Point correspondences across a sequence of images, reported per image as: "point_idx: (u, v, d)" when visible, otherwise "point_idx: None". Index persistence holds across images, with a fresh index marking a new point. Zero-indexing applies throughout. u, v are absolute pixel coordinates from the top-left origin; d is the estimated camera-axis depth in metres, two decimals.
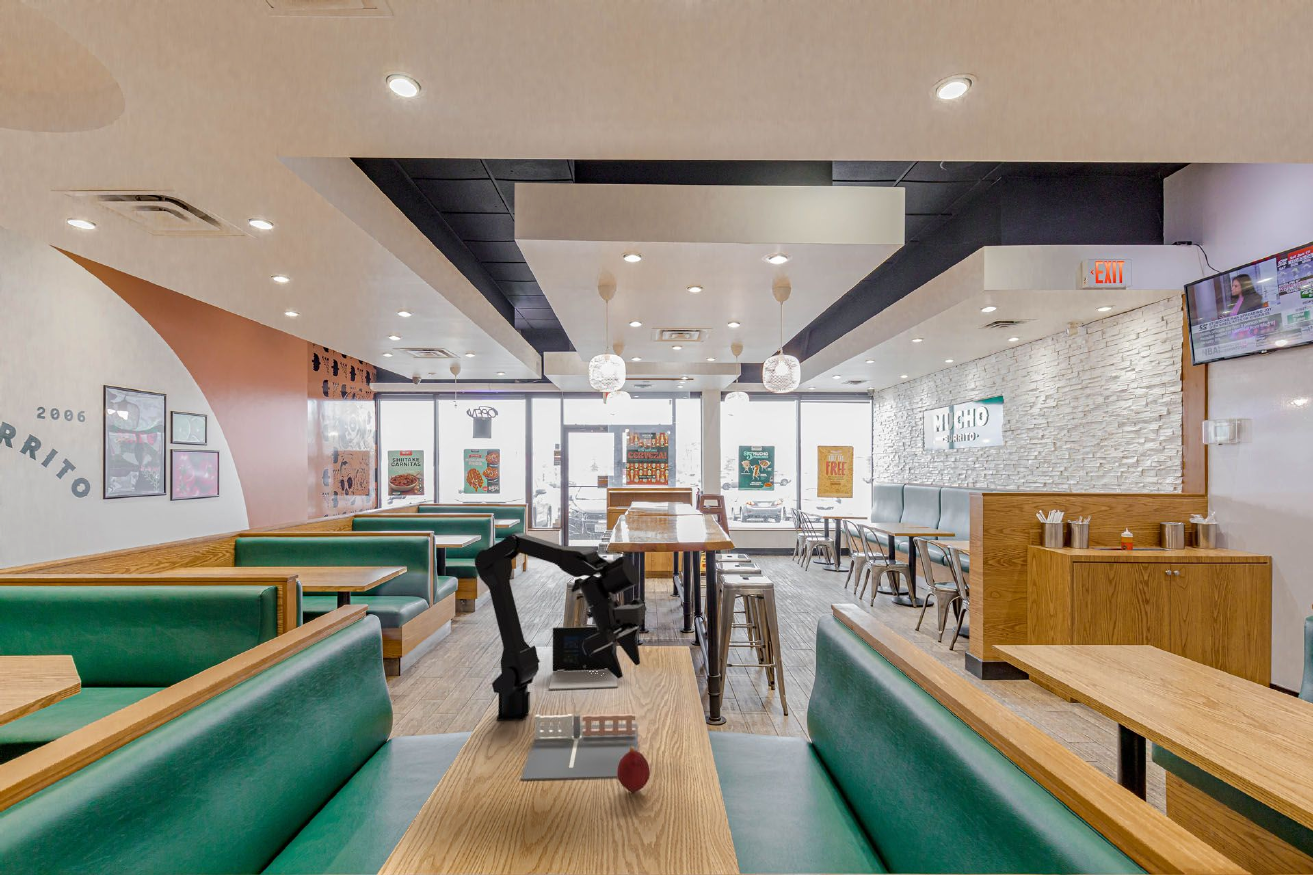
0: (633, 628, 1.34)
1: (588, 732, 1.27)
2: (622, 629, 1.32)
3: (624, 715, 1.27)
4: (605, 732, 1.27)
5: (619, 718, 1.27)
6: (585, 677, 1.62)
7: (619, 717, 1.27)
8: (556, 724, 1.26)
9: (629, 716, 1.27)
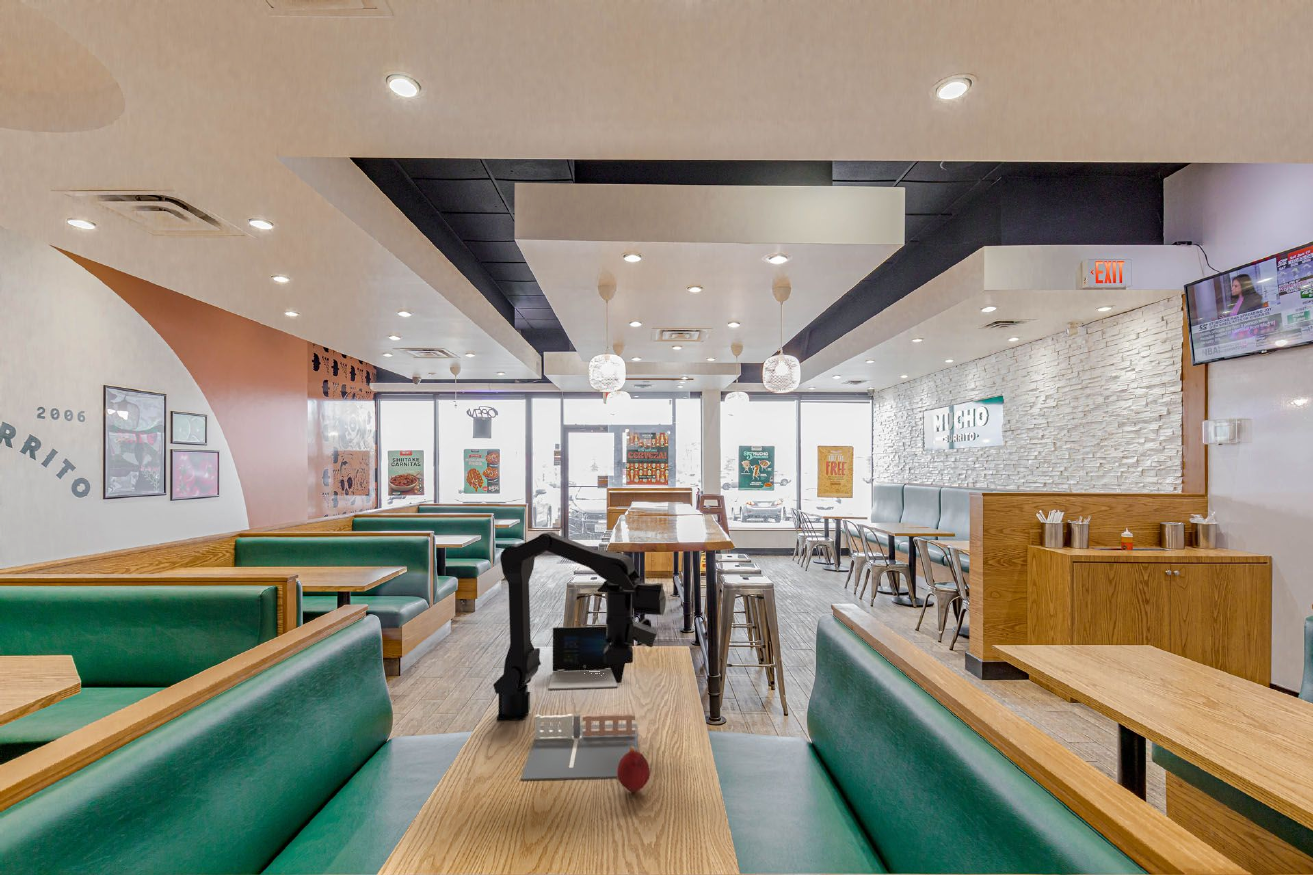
0: None
1: (588, 732, 1.27)
2: None
3: (624, 715, 1.27)
4: (605, 732, 1.27)
5: (619, 718, 1.27)
6: (585, 677, 1.62)
7: (619, 717, 1.27)
8: (556, 724, 1.26)
9: (629, 716, 1.27)
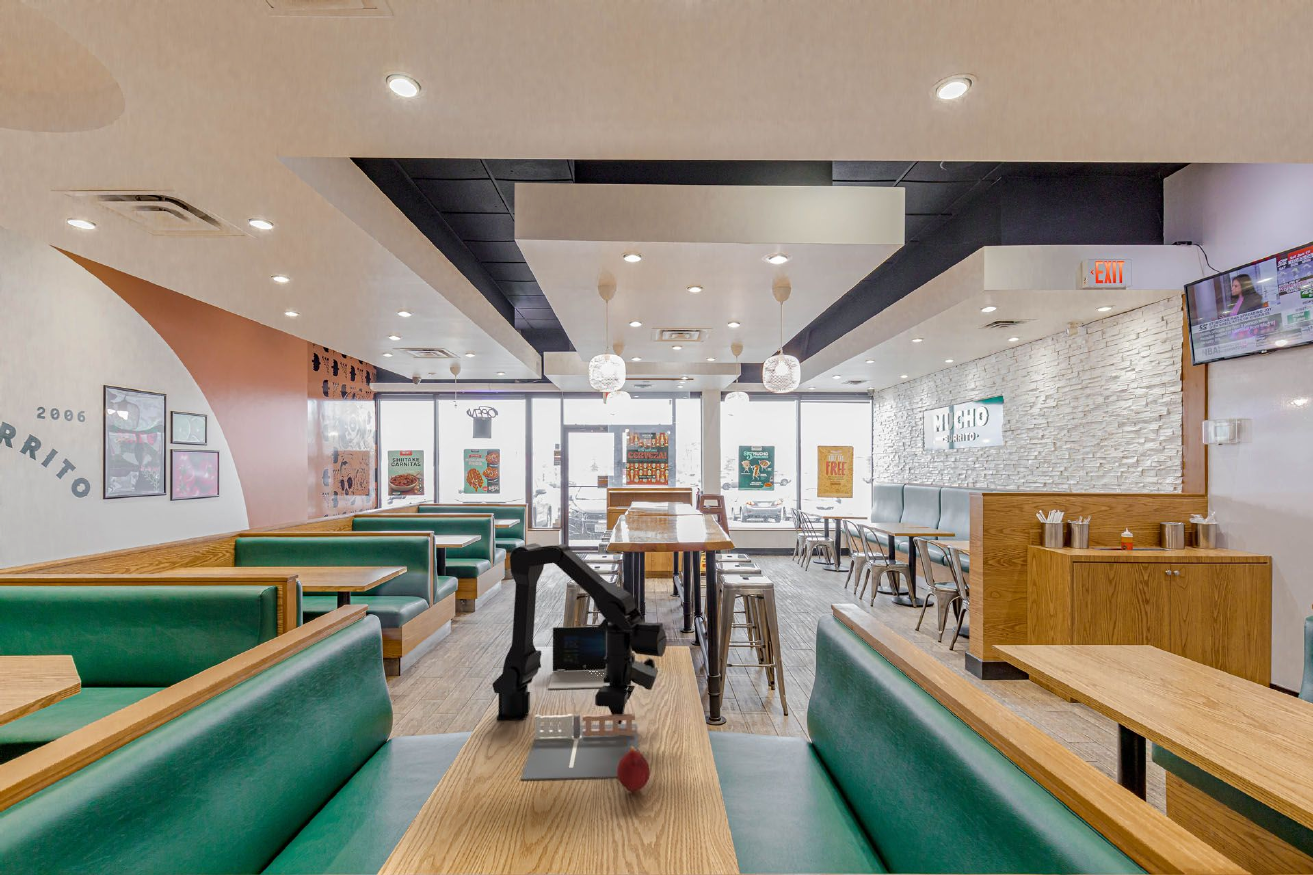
0: None
1: (588, 732, 1.27)
2: None
3: (624, 715, 1.27)
4: (605, 732, 1.27)
5: (619, 718, 1.27)
6: (585, 677, 1.62)
7: (619, 717, 1.27)
8: (556, 724, 1.26)
9: (629, 716, 1.27)
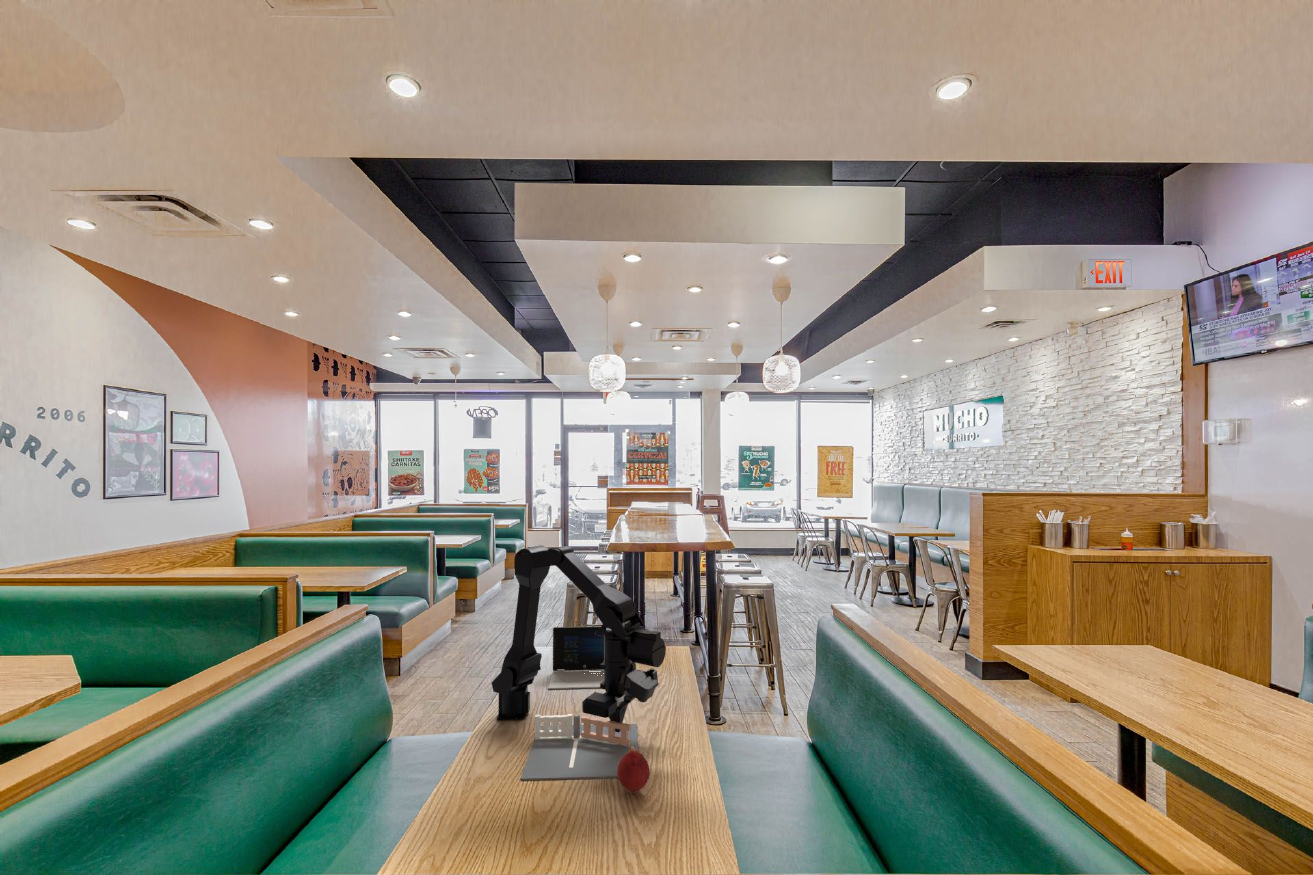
0: None
1: (586, 734, 1.26)
2: None
3: (619, 724, 1.23)
4: (601, 738, 1.24)
5: (614, 726, 1.23)
6: (585, 677, 1.62)
7: (614, 725, 1.23)
8: (556, 724, 1.26)
9: (623, 726, 1.23)
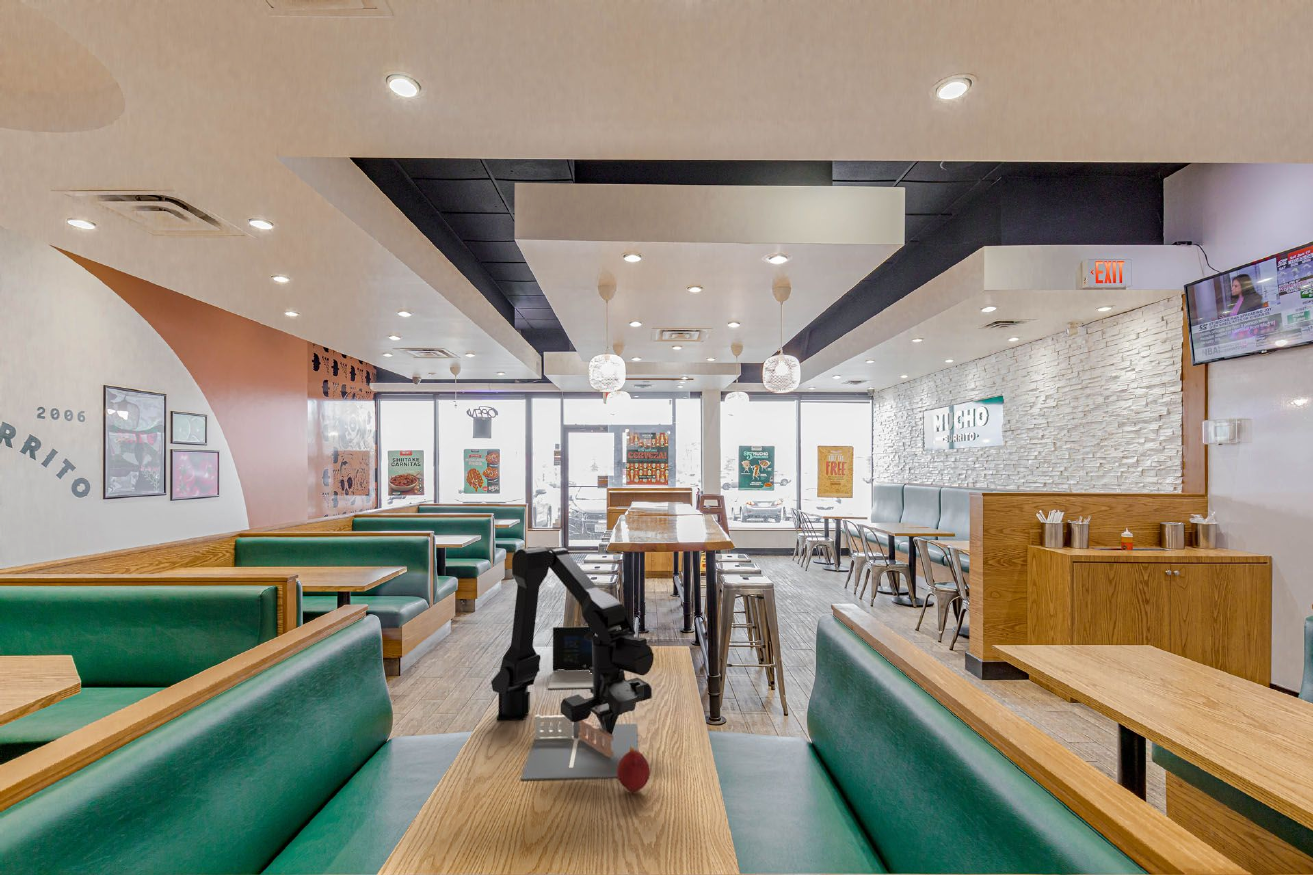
0: None
1: (581, 736, 1.25)
2: None
3: (604, 732, 1.19)
4: (591, 743, 1.22)
5: (600, 734, 1.20)
6: (585, 677, 1.62)
7: (599, 733, 1.20)
8: (556, 724, 1.26)
9: (606, 735, 1.18)
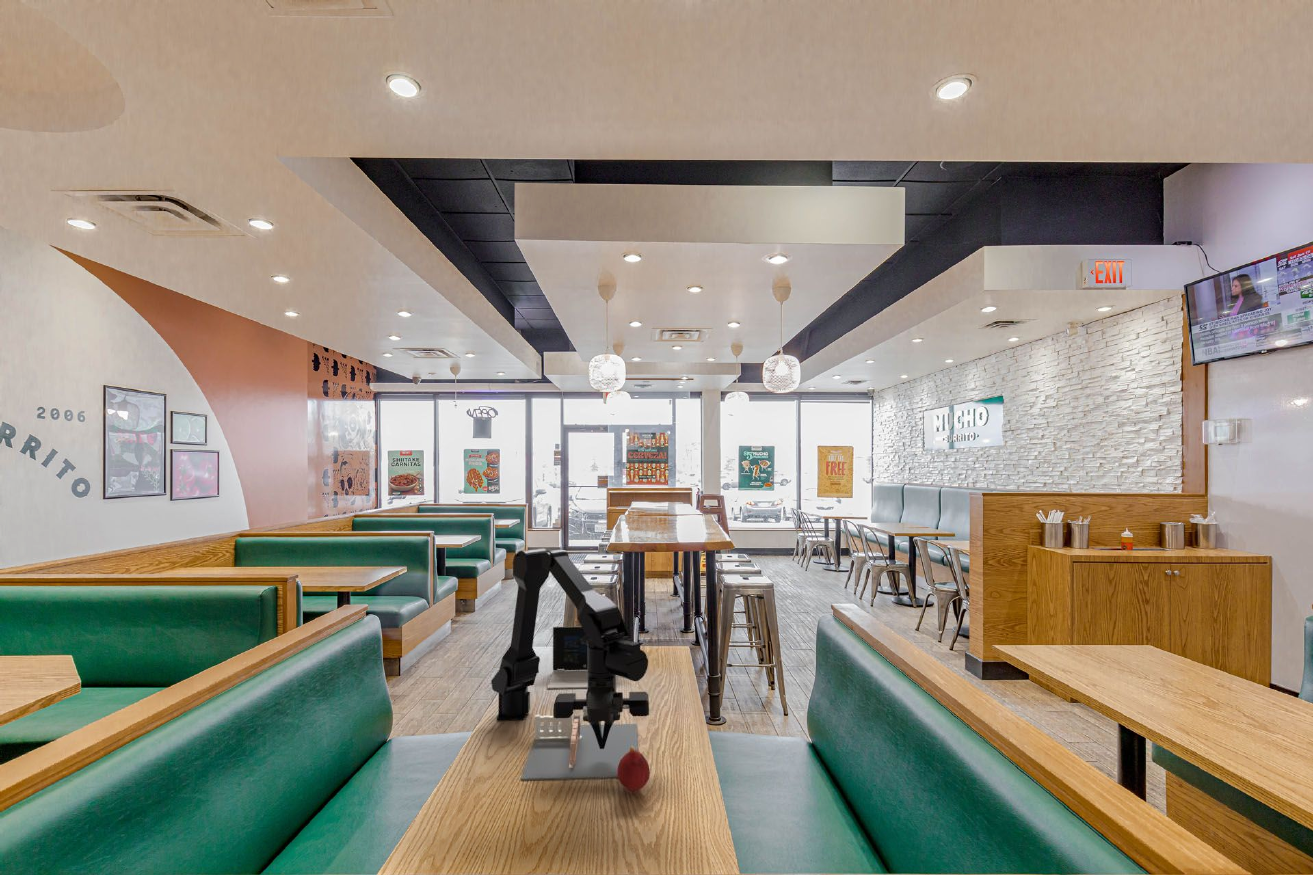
0: None
1: None
2: None
3: (572, 738, 1.17)
4: None
5: None
6: (584, 677, 1.62)
7: (571, 738, 1.18)
8: (556, 724, 1.26)
9: None
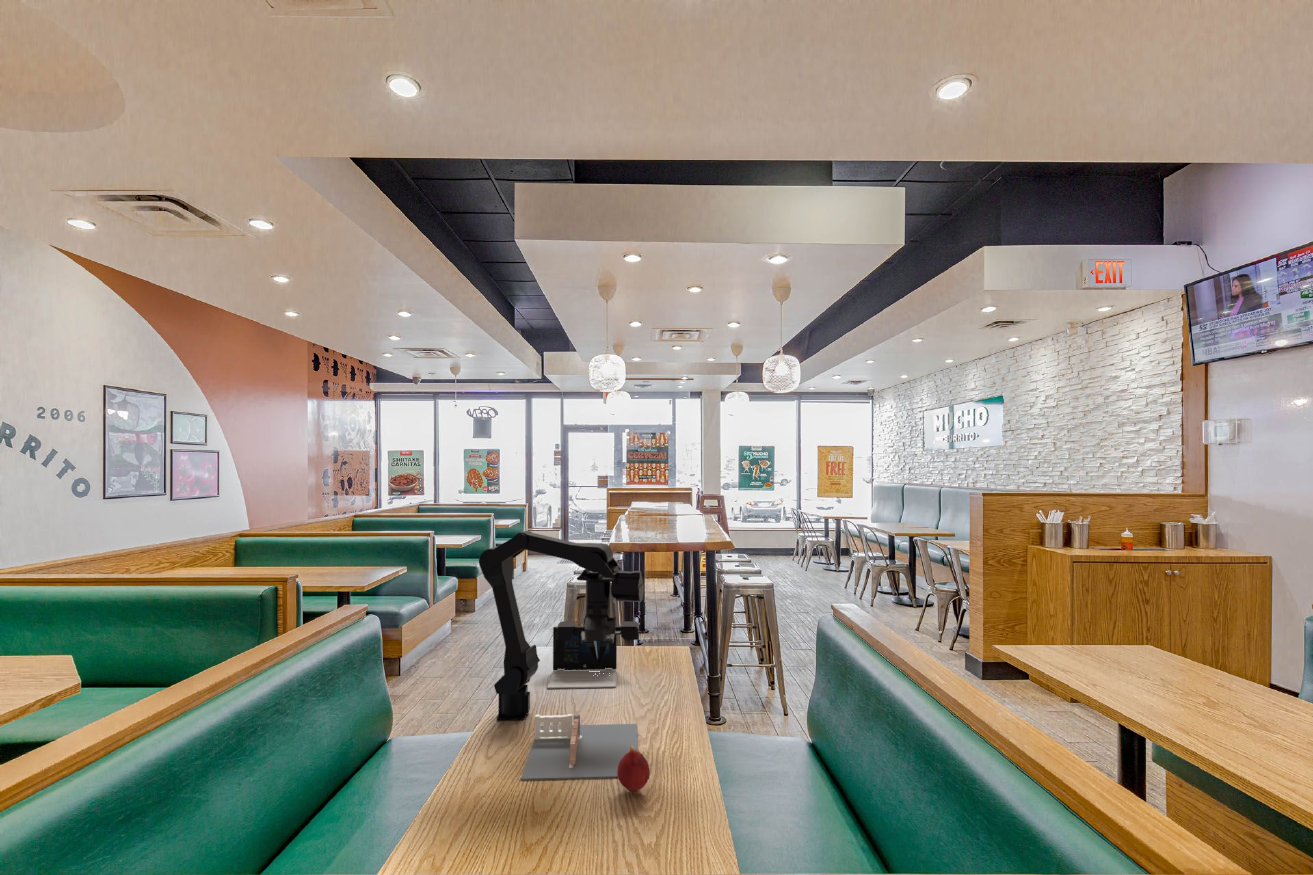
0: None
1: None
2: None
3: (572, 738, 1.17)
4: None
5: None
6: (584, 677, 1.62)
7: (571, 738, 1.18)
8: (556, 724, 1.26)
9: None
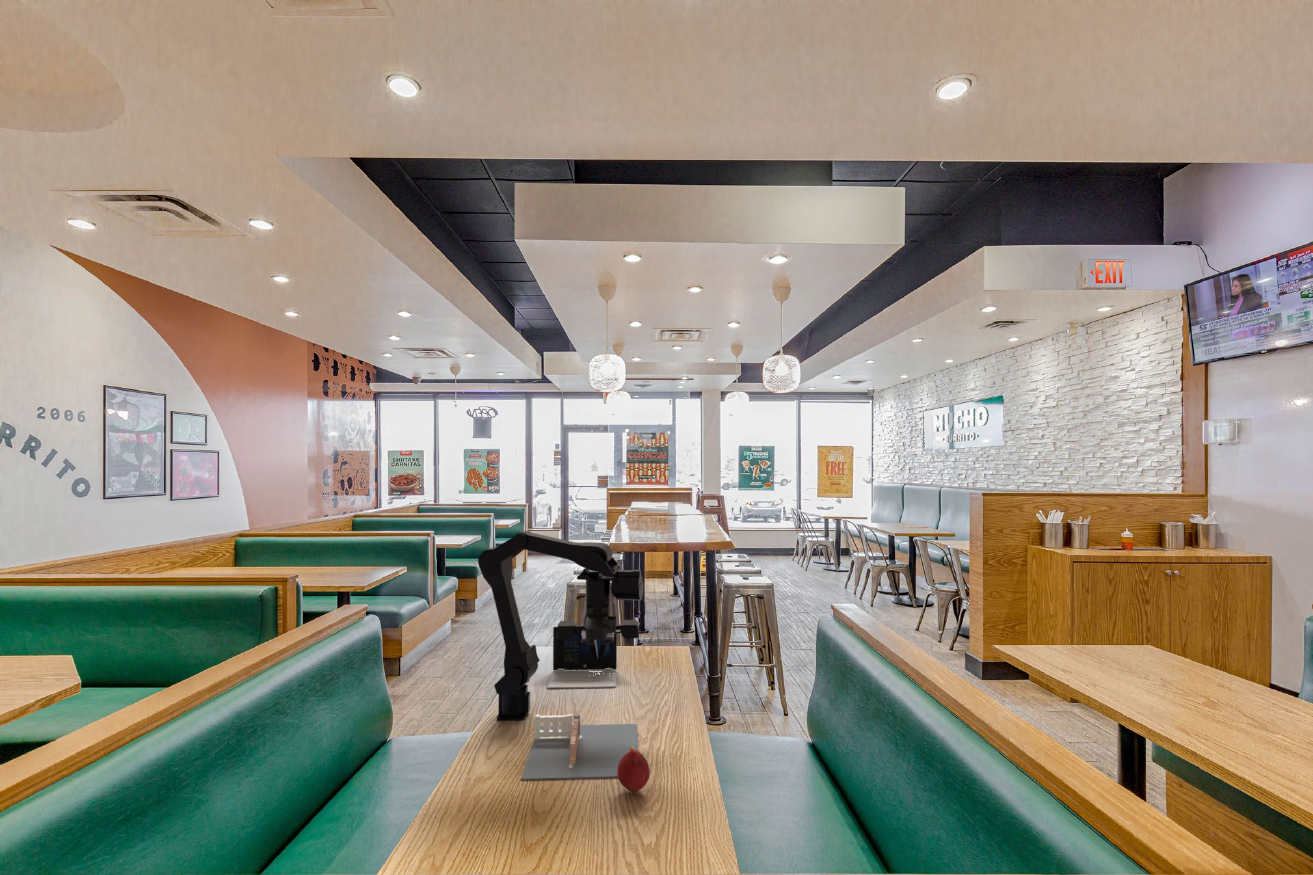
0: None
1: None
2: None
3: (572, 738, 1.17)
4: None
5: None
6: (584, 677, 1.62)
7: (571, 738, 1.18)
8: (556, 724, 1.26)
9: None
